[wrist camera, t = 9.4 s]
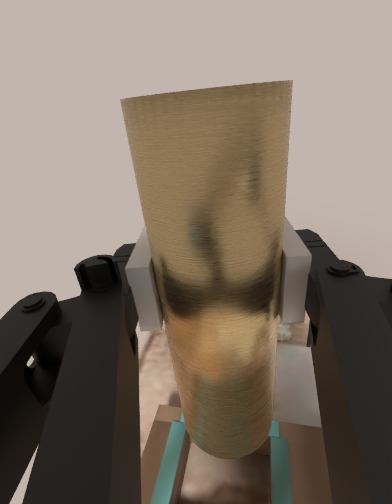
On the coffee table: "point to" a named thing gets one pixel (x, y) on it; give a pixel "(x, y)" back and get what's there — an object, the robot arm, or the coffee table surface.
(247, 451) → the brass peg
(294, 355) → the coffee table surface
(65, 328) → the robot arm
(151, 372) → the coffee table surface
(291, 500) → the walnut rail
